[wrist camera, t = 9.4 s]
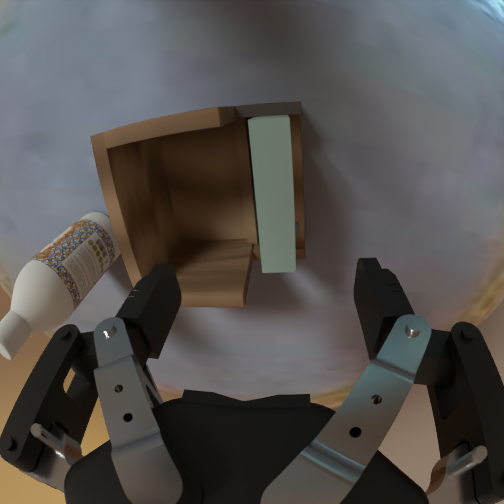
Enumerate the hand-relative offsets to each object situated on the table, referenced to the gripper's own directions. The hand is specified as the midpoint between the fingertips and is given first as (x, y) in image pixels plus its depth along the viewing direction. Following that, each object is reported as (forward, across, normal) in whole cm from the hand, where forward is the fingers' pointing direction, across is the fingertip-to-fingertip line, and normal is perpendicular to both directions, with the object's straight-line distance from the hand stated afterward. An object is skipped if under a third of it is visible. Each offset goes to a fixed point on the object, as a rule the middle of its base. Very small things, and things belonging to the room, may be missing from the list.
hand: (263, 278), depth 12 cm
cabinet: (+16, +4, 0) cm, 17 cm away
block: (+17, 0, 0) cm, 17 cm away
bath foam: (+17, +22, +5) cm, 28 cm away
